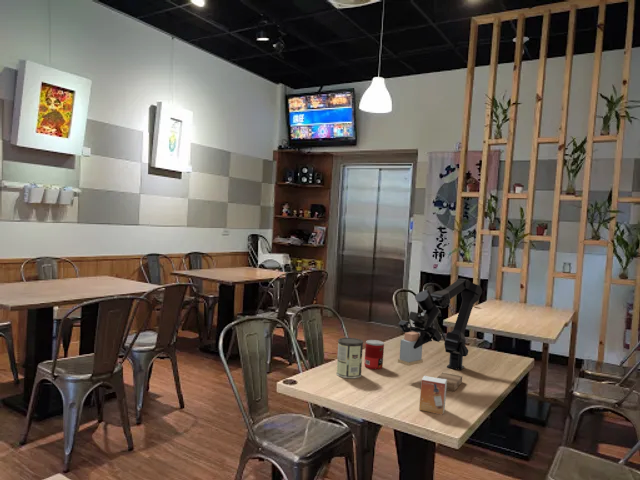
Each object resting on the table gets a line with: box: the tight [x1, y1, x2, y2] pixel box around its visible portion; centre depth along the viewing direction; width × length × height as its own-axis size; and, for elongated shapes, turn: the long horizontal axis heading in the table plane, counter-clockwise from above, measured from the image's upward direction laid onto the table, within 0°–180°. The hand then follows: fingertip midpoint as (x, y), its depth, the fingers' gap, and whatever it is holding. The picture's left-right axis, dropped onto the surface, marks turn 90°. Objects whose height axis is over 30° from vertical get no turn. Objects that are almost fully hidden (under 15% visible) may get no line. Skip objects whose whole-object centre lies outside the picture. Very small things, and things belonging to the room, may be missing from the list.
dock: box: [436, 371, 463, 392], centre depth 189 cm, size 14×8×3 cm, turn 152°
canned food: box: [364, 339, 385, 370], centre depth 207 cm, size 8×8×11 cm
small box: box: [418, 375, 447, 416], centre depth 160 cm, size 8×6×10 cm
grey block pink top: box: [397, 331, 424, 367], centre depth 193 cm, size 9×6×12 cm, turn 130°
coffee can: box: [336, 337, 364, 379], centre depth 194 cm, size 10×10×14 cm
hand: (409, 346), depth 192 cm, fingers closed on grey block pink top, 5 cm apart
